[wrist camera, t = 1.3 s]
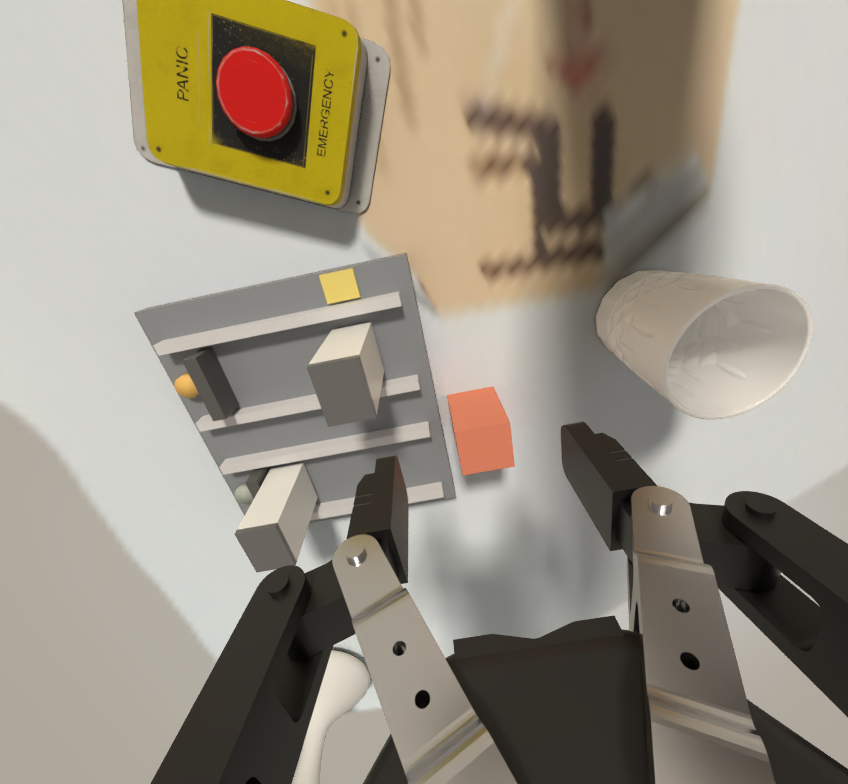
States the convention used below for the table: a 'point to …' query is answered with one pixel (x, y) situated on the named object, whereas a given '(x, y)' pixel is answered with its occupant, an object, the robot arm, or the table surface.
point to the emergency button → (258, 96)
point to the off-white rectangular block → (348, 375)
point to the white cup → (706, 338)
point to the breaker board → (304, 382)
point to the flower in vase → (331, 709)
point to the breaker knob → (278, 518)
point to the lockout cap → (481, 431)
